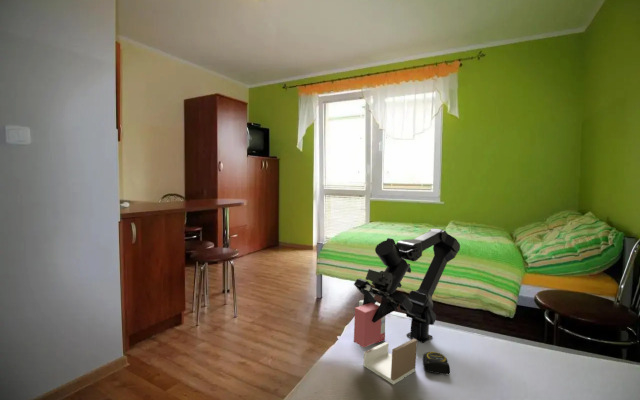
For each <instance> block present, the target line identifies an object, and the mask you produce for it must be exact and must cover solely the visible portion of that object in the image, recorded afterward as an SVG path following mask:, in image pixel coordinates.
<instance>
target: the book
mask: <svg viewBox="0 0 640 400" xmlns="http://www.w3.org/2000/svg"><path fill="white" fill-rule="evenodd" d="M378 308H379V305H376V304H374V303H372V302H371V303H368V304H365V305H362V306H359V305H358V306H357V307H354V328H353V342H354V343H356V344H357V345H359V346H360V347H362V348H366V347H368V346H371V345H373V344H376V343H375V342H378V341H380V340H381V319H379V320H378V321H376V322H375V323H374V322H372V319H373V317H374V315H375V313H376V311H377V309H378ZM378 343H379V342H378Z"/></svg>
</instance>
